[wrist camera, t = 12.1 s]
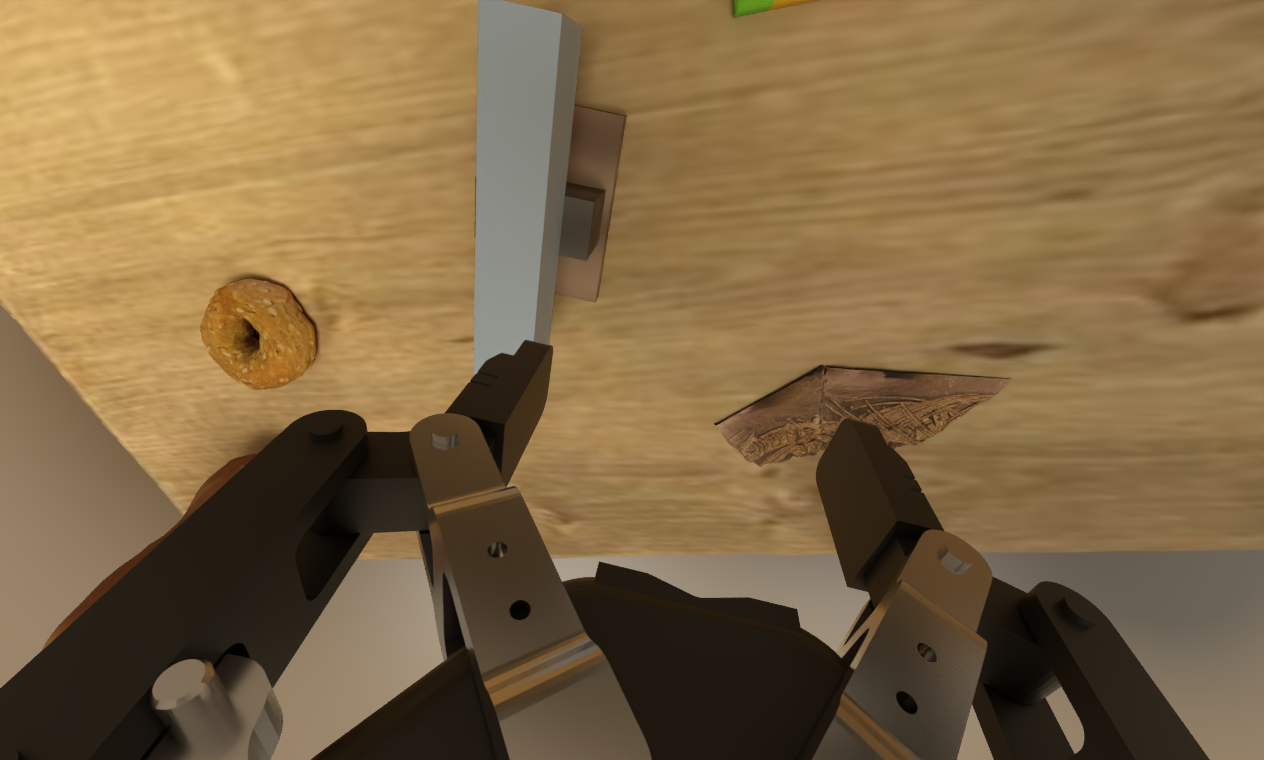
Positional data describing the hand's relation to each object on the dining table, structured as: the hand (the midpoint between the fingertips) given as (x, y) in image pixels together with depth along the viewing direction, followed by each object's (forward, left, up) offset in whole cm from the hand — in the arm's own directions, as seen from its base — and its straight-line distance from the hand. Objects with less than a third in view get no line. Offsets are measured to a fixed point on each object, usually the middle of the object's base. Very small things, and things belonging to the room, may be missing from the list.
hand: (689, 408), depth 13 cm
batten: (+2, -10, -22) cm, 24 cm away
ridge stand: (+2, -10, -28) cm, 30 cm away
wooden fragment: (+15, +20, -29) cm, 38 cm away
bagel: (+19, -37, -28) cm, 51 cm away
